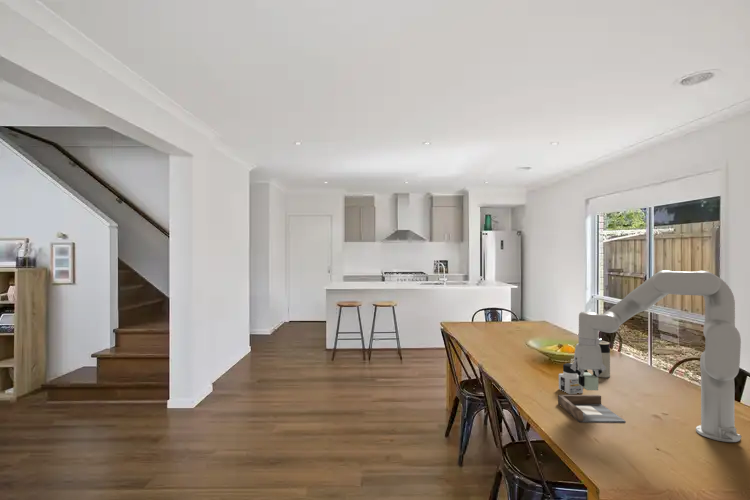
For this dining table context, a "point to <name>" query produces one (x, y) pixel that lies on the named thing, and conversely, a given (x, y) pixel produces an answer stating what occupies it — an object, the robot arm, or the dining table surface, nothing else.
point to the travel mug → (605, 358)
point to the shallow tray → (588, 408)
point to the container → (569, 380)
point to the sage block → (589, 381)
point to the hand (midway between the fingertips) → (588, 384)
